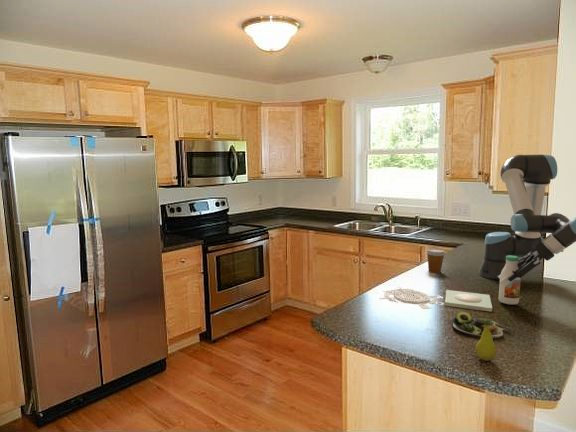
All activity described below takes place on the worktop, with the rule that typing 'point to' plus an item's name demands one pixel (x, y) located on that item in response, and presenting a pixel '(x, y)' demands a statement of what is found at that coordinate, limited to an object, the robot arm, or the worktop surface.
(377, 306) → the worktop surface
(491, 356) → the fruit
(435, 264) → the disposable coffee cup
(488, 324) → the salad plate
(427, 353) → the worktop surface
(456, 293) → the locating board
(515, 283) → the milk bottle
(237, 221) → the worktop surface
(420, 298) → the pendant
